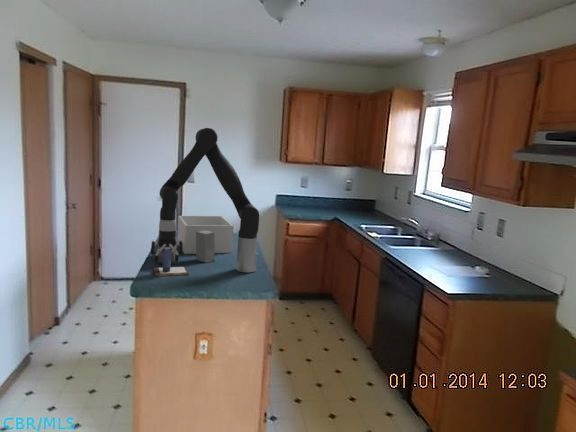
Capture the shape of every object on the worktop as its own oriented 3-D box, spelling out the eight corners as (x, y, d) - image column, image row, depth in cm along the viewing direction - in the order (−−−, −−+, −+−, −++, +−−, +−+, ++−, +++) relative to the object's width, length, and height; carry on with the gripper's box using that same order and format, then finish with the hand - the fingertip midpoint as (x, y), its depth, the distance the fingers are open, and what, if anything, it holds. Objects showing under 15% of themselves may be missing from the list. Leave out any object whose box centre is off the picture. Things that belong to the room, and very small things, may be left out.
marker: (170, 269, 213) (170, 245, 211) (170, 272, 210) (171, 247, 208) (161, 270, 212) (162, 245, 210) (162, 272, 209) (163, 247, 207)
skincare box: (214, 261, 238) (216, 232, 235) (203, 263, 232) (205, 233, 230) (205, 257, 243) (206, 229, 241) (194, 259, 238) (195, 230, 235)
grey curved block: (173, 267, 221) (174, 246, 220) (157, 267, 220) (157, 245, 218) (176, 254, 246) (177, 235, 244) (161, 254, 244) (162, 234, 242)
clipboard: (185, 268, 221) (185, 264, 221) (188, 275, 211) (188, 271, 211) (153, 269, 216) (154, 265, 215) (155, 276, 206) (155, 272, 205)
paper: (183, 267, 220) (183, 266, 220) (186, 272, 211) (186, 272, 211) (158, 268, 215) (158, 267, 215) (160, 273, 207) (160, 273, 207)
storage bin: (220, 240, 286) (221, 216, 284) (232, 252, 258) (233, 225, 255) (177, 241, 277) (178, 215, 274) (184, 253, 248) (185, 225, 245)
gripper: (181, 227, 214) (180, 260, 216) (150, 227, 208) (150, 260, 211) (184, 230, 207) (183, 264, 209) (152, 230, 202) (151, 265, 204)
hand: (166, 262), depth 210 cm, fingers open, 8 cm apart
